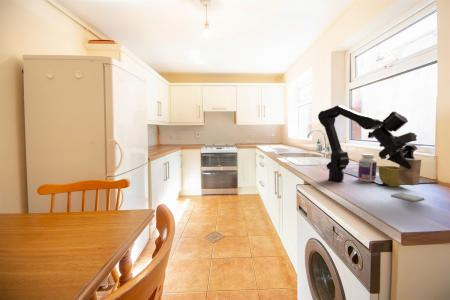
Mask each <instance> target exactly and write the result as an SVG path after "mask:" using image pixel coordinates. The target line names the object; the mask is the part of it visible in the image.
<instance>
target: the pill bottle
mask: <svg viewBox="0 0 450 300" xmlns="http://www.w3.org/2000/svg"><path fill="white" fill-rule="evenodd" d="M377 163H378V161H377V159H376V158H375V154H374V153H372V154H371V153H362V154H361V158H359V159H358V172H357V179H358V180H359V181H362V182H367V183H372V181H374V182H375V181H376V177H377V165H378V164H377Z"/></svg>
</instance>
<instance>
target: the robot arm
mask: <svg viewBox="0 0 450 300" xmlns="http://www.w3.org/2000/svg"><path fill="white" fill-rule="evenodd" d="M339 116H342V117H345V118H346V119H349V120H351V121H354V122H355V123H357V124H358V126H360V128H362V129H364V130H371V131H369V132H368V135H367V138H368V139H376V141H377V142H378V143H379V146H380V147H382V149H381V150H380V151H379V152H378V157H379V158H380V159H381V160H387V161H390V162H392V163H395V164H397V165H401V166H403V167H405V168H407V169H410V168H411V166H410V164H409V163H408V162H407V160H406V159H405V158H411V159H416V158H415V157H414V152H415V151H417V150H418V149H419V148H418V147H417V145H415V144H408V143H411V142H416V141H418V139H417V137H418V135H417V134H415V133H414V132H411V131H410V132H407V133H404V134H402V135H401V134H400V135H396V136H395V135H394V134H393V133H392V132H397V131H398V130H399V129H401V128H402V127H403V126H405V125H406V124H407V123H408V122H409V120H408V119H407V118H406V117H405V116H403V115H401V114H400V113H398V112H397V111H391V112H390V114H389V115H387V117H385V118H384V119H380V118H379V117H378V116H372V115H371V116H370V115H365V114H362V113H359V112H357V111H356V110H352V109H349V108H347V107H345V106H344V105H335V106H333V107H331V108H328V109H325V110H321V111H320V112H318V115H317V118H318V121H319V123H320V124H321V125H322V126H323V127H324V129H325V133H326V136H327V137H326V138H327V140H328V144H329V147H330V150H331V154H330V161H329V162H328V163H327V164H326V169H327V170H328V178H327V181H330V182H331V181H332V182H337V183H338V182H339V183H342V181H344V179H345V172H344V170H346V168H347V166H348V165H349V163H350V157H349V153H348V152H347V151H344V150H343V149H342V147H341V146H342V145H341V143H340V139H339V137H338V133H337V130H336V127H335V123H336V118H337V117H339ZM372 130H373V131H372ZM387 156H388V157H387Z"/></svg>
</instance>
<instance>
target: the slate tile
mask: <svg viewBox="0 0 450 300" xmlns="http://www.w3.org/2000/svg"><path fill="white" fill-rule="evenodd" d="M390 197H393V198H396V199H400V200H405V201H409V202H412V203H414V202H419V201H422V200H425V197H423V196H422V197H421V196H418V195H413V194H410V193H409V194H408V193H405V192H398V193H392V194H390Z"/></svg>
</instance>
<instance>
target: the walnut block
mask: <svg viewBox="0 0 450 300" xmlns="http://www.w3.org/2000/svg"><path fill="white" fill-rule="evenodd" d="M405 159H406V160H407V162H408V163H409V164H410V166H411V168H410V169H407V168H405V167H403V166H401V165H399V164H398V165H399V166H398V167H399V175H398V183H402V184H401V185H403V184H404V185H406V186H407V185H408V186H416V185H419V184H420V178H421V177H420V175H421V167H422V159H418V158H415V159H411V158H405Z"/></svg>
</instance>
